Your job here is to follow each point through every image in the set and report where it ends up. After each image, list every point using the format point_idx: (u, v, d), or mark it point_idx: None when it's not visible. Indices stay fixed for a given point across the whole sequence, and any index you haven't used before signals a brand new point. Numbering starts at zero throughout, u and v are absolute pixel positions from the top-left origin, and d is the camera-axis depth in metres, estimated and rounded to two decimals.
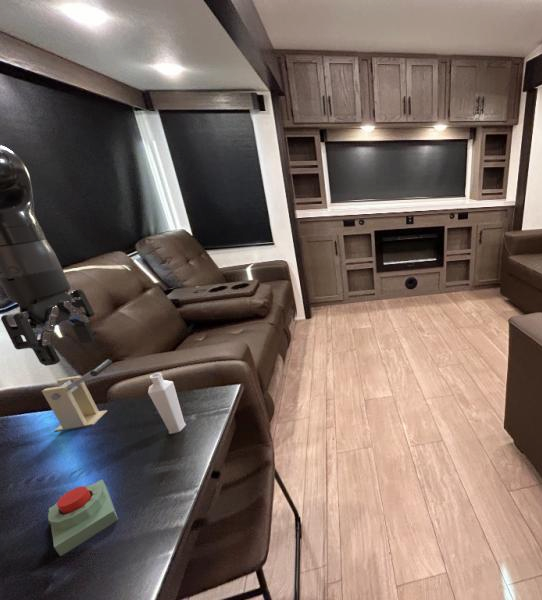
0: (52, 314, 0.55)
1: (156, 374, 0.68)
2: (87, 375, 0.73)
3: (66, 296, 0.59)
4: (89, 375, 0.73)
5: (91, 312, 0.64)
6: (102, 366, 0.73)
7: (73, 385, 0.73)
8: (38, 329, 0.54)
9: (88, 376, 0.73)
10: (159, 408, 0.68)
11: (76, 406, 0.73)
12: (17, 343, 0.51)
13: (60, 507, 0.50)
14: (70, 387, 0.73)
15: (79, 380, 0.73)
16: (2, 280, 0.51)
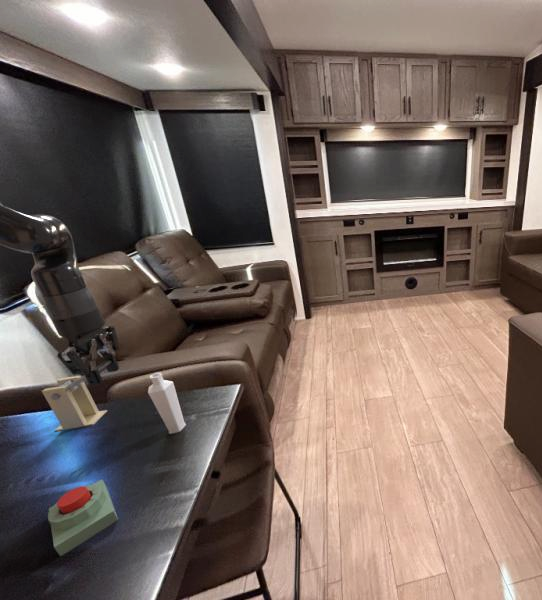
0: (93, 346, 0.69)
1: (156, 374, 0.68)
2: None
3: (101, 330, 0.73)
4: None
5: (117, 346, 0.77)
6: (102, 366, 0.73)
7: (73, 385, 0.73)
8: (85, 359, 0.69)
9: None
10: (159, 408, 0.68)
11: (76, 406, 0.73)
12: (73, 371, 0.67)
13: (60, 507, 0.50)
14: (70, 387, 0.73)
15: (79, 380, 0.73)
16: (55, 321, 0.65)
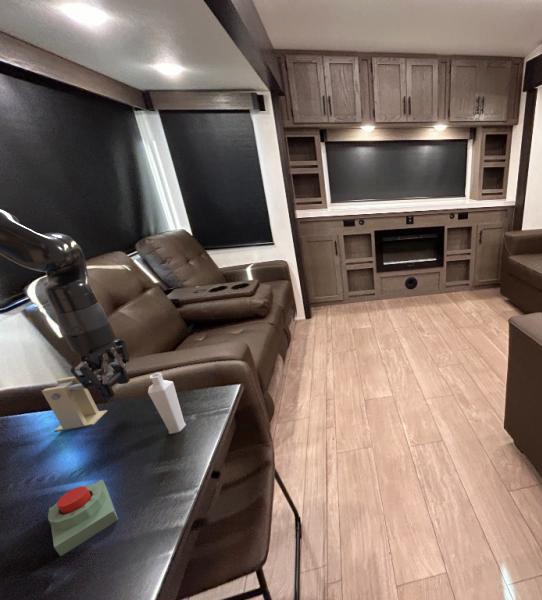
0: (104, 360, 0.71)
1: (156, 374, 0.68)
2: None
3: (111, 343, 0.75)
4: None
5: (127, 359, 0.79)
6: (113, 379, 0.74)
7: (76, 388, 0.73)
8: (97, 373, 0.70)
9: None
10: (159, 408, 0.68)
11: (76, 406, 0.73)
12: (86, 385, 0.68)
13: (60, 507, 0.50)
14: (72, 389, 0.73)
15: None
16: (68, 337, 0.66)
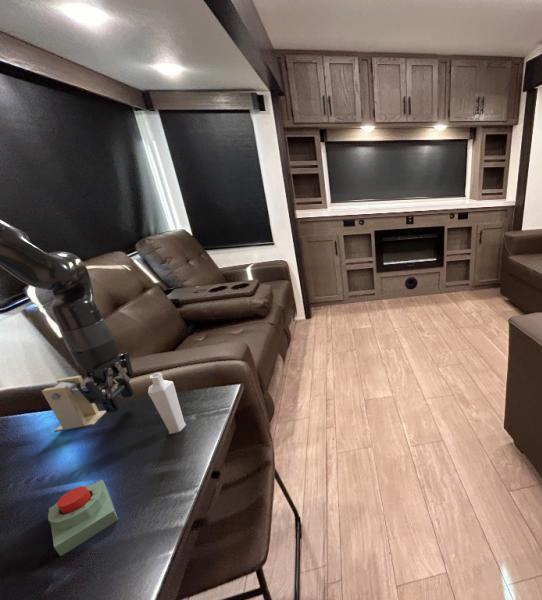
0: (109, 375, 0.72)
1: (156, 374, 0.68)
2: None
3: (116, 358, 0.76)
4: None
5: (131, 372, 0.80)
6: (118, 393, 0.76)
7: (77, 392, 0.74)
8: (102, 387, 0.72)
9: None
10: (159, 408, 0.68)
11: (76, 406, 0.73)
12: (91, 400, 0.70)
13: (60, 507, 0.50)
14: (72, 392, 0.73)
15: None
16: (73, 353, 0.68)
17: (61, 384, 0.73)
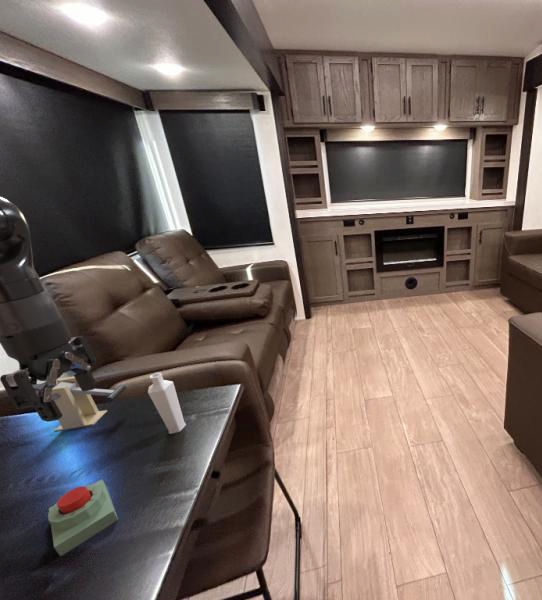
0: (53, 368, 0.53)
1: (156, 374, 0.68)
2: (98, 393, 0.75)
3: (67, 346, 0.57)
4: (100, 393, 0.75)
5: (93, 359, 0.62)
6: (118, 394, 0.76)
7: (77, 392, 0.74)
8: (39, 385, 0.52)
9: (98, 394, 0.75)
10: (159, 408, 0.68)
11: (76, 406, 0.73)
12: (17, 403, 0.49)
13: (60, 507, 0.50)
14: (72, 392, 0.73)
15: (87, 392, 0.74)
16: (0, 337, 0.49)
17: (61, 384, 0.73)
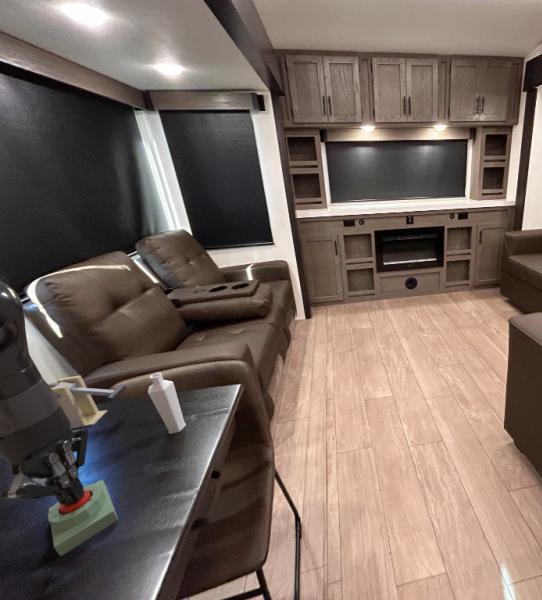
0: (54, 463, 0.48)
1: (156, 374, 0.68)
2: (98, 393, 0.75)
3: (66, 432, 0.51)
4: (100, 393, 0.75)
5: (82, 460, 0.53)
6: (118, 394, 0.76)
7: (77, 392, 0.74)
8: (49, 478, 0.48)
9: (98, 394, 0.75)
10: (159, 408, 0.68)
11: (76, 406, 0.73)
12: (36, 496, 0.47)
13: (62, 511, 0.51)
14: (72, 392, 0.73)
15: (87, 392, 0.74)
16: None
17: (61, 384, 0.73)
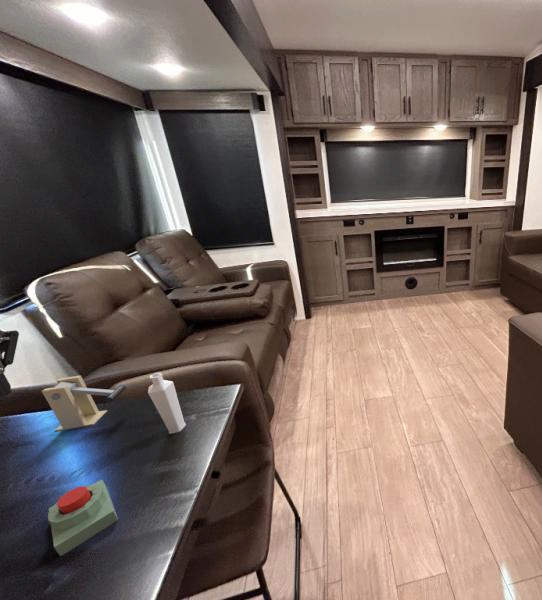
0: None
1: (156, 374, 0.68)
2: (98, 393, 0.75)
3: None
4: (100, 393, 0.75)
5: (10, 359, 0.54)
6: (118, 394, 0.76)
7: (77, 392, 0.74)
8: None
9: (98, 394, 0.75)
10: (159, 408, 0.68)
11: (76, 406, 0.73)
12: None
13: (60, 507, 0.50)
14: (72, 392, 0.73)
15: (87, 392, 0.74)
16: None
17: (61, 384, 0.73)
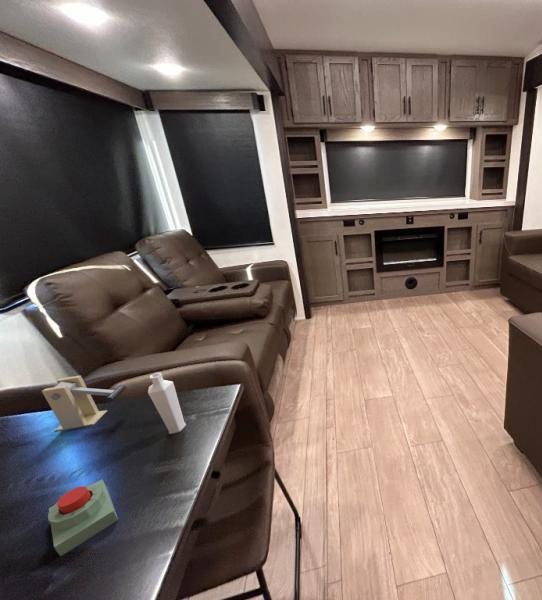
0: None
1: (156, 374, 0.68)
2: (98, 393, 0.75)
3: None
4: (100, 393, 0.75)
5: None
6: (118, 394, 0.76)
7: (77, 392, 0.74)
8: None
9: (98, 394, 0.75)
10: (159, 408, 0.68)
11: (76, 406, 0.73)
12: None
13: (60, 507, 0.50)
14: (72, 392, 0.73)
15: (87, 392, 0.74)
16: None
17: (61, 384, 0.73)
